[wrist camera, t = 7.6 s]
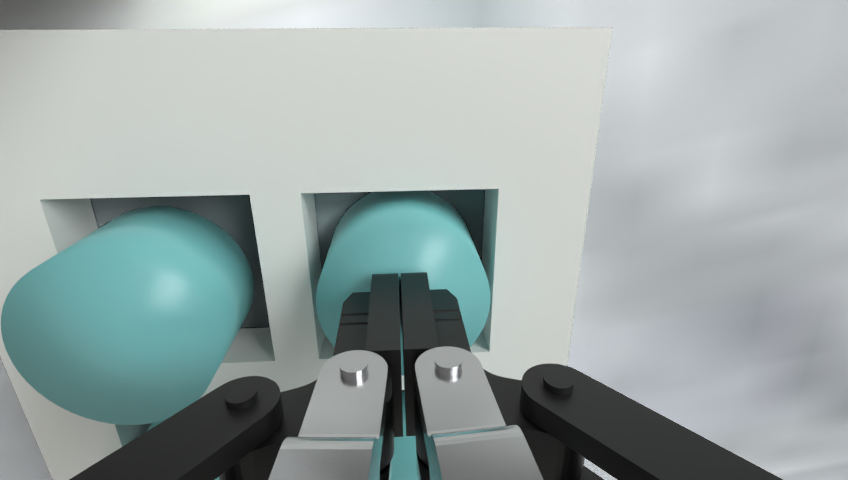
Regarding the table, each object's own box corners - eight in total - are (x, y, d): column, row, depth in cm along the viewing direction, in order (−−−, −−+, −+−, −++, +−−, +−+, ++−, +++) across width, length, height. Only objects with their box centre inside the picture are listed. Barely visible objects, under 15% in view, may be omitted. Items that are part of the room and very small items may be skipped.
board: (583, 29, 14) (618, 26, 12) (522, 566, 23) (536, 619, 21) (-62, 33, 13) (-152, 30, 11) (144, 592, 22) (117, 650, 20)
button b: (241, 204, 14) (195, 252, 10) (264, 343, 15) (231, 420, 12) (68, 208, 13) (-33, 258, 10) (112, 350, 15) (39, 429, 12)
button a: (473, 184, 15) (494, 220, 12) (469, 312, 17) (486, 371, 14) (325, 188, 15) (307, 225, 12) (336, 317, 17) (323, 379, 14)
